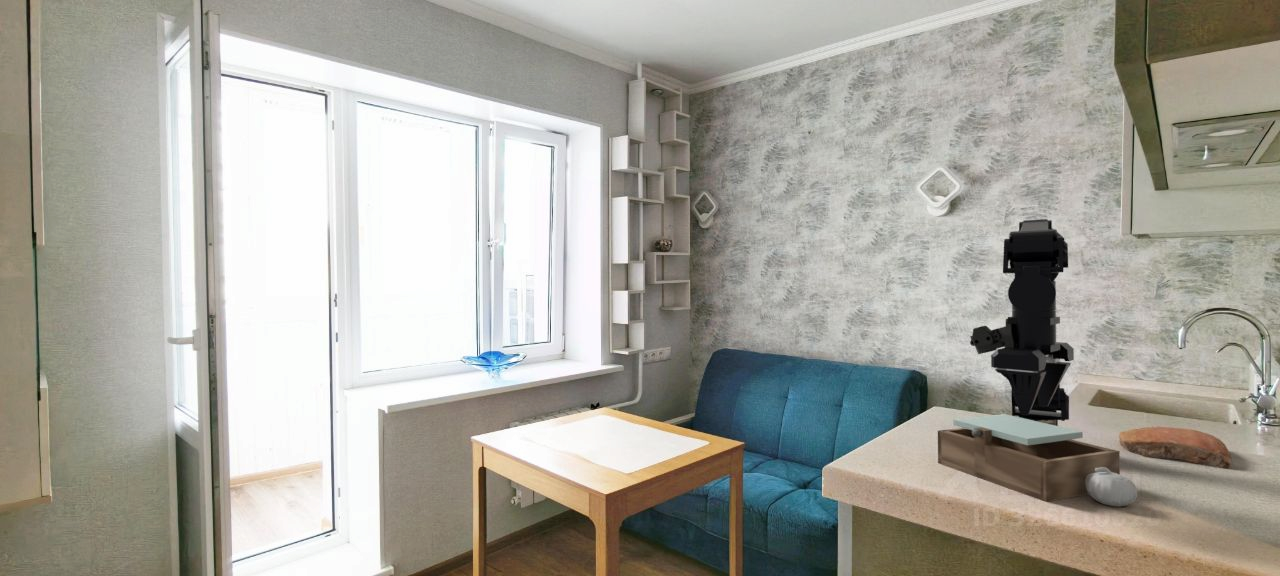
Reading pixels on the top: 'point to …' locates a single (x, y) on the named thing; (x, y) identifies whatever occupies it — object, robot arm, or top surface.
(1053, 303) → the robot arm
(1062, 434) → the trapdoor plate
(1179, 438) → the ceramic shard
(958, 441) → the frame
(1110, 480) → the garlic
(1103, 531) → the top surface
